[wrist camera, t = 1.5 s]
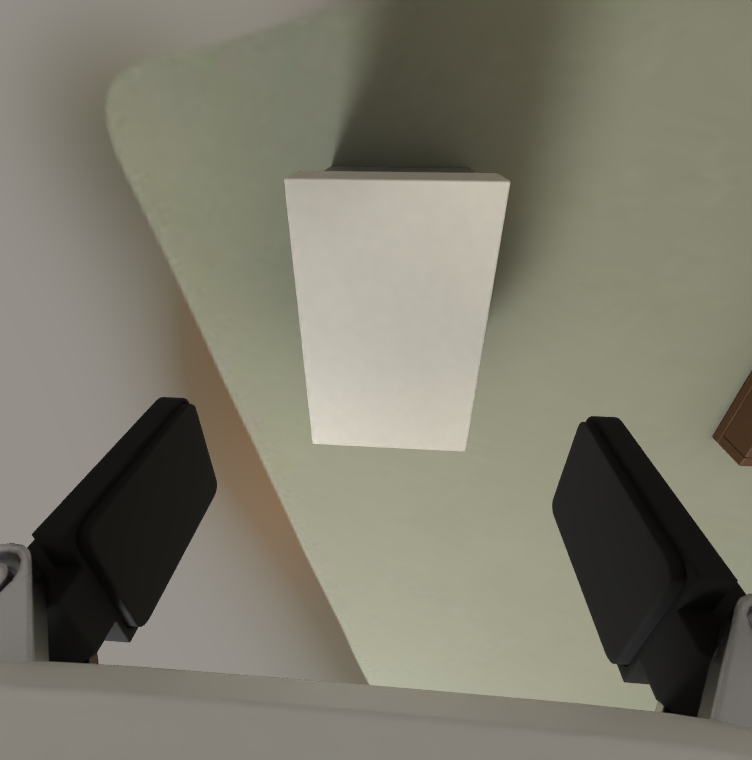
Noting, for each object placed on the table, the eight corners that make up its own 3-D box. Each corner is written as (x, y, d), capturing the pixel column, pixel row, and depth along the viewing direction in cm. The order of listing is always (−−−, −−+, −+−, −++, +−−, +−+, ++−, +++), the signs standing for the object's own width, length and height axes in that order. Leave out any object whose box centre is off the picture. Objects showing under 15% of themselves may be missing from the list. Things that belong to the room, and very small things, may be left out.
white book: (298, 170, 14) (283, 177, 12) (498, 173, 13) (511, 180, 11) (320, 415, 19) (312, 444, 17) (460, 422, 19) (465, 451, 17)
